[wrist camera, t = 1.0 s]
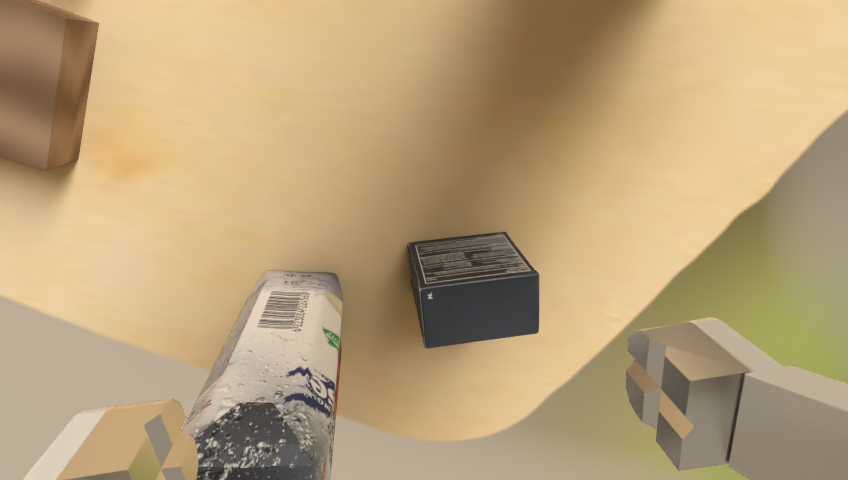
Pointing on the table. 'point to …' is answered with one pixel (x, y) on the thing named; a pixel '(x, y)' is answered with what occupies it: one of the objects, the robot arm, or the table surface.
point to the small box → (473, 289)
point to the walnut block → (43, 82)
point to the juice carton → (274, 384)
